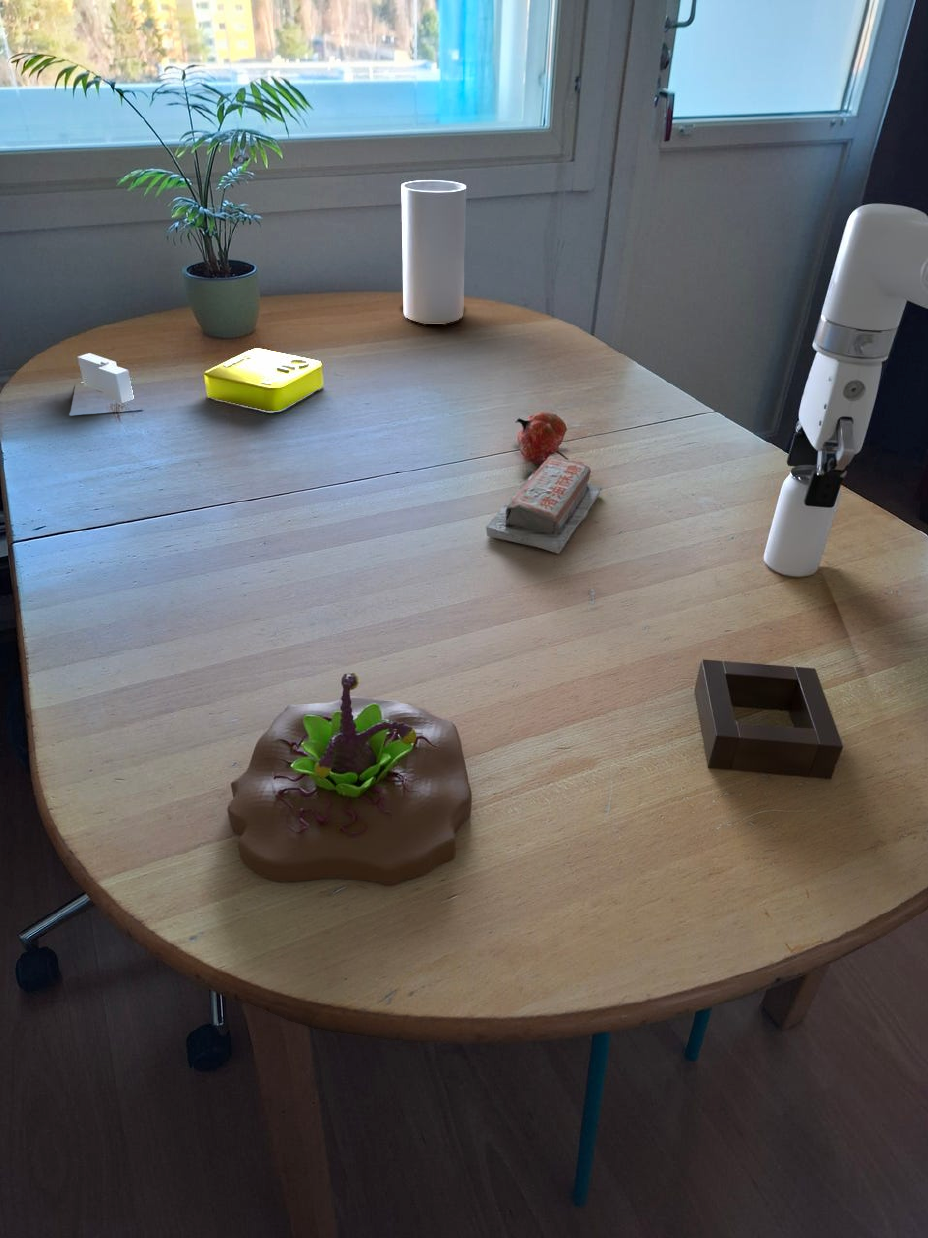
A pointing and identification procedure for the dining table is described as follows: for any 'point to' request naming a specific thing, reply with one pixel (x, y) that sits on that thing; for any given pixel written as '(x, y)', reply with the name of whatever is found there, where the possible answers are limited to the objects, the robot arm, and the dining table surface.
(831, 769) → the socket block
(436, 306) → the cylinder vase
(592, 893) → the dining table surface
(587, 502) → the packaged product
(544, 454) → the pomegranate
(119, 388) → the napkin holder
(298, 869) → the plant
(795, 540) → the can
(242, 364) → the element tile
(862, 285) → the robot arm
